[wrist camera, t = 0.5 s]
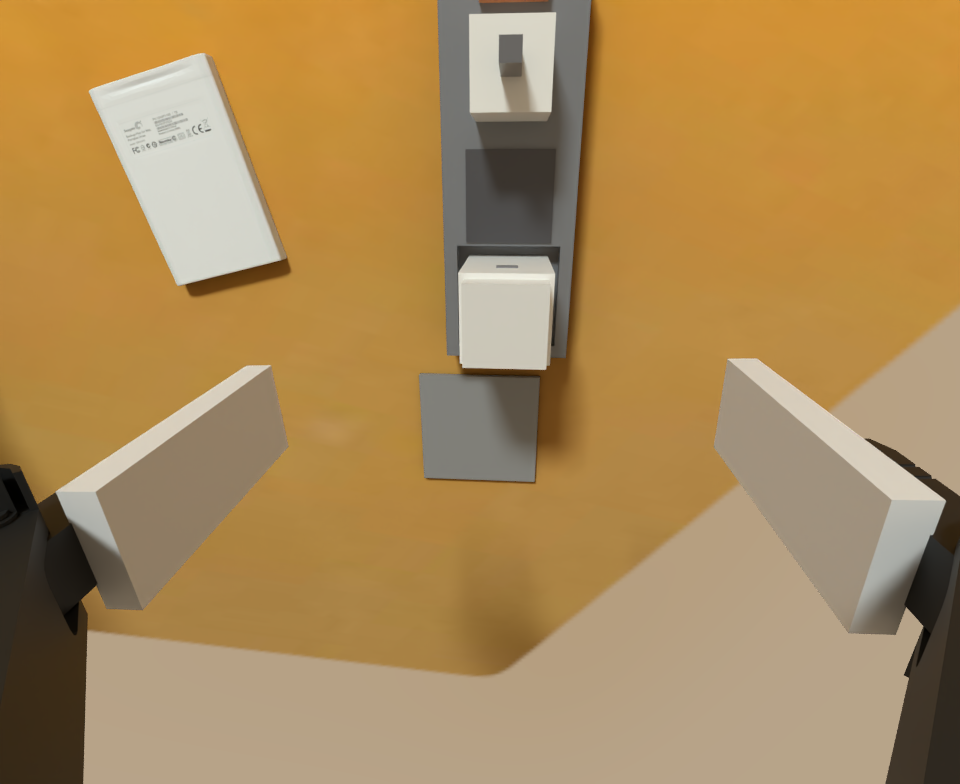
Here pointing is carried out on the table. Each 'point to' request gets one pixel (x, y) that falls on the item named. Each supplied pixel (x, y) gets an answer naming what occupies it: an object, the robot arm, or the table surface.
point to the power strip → (511, 138)
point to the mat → (479, 426)
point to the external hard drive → (190, 169)
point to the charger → (506, 311)
